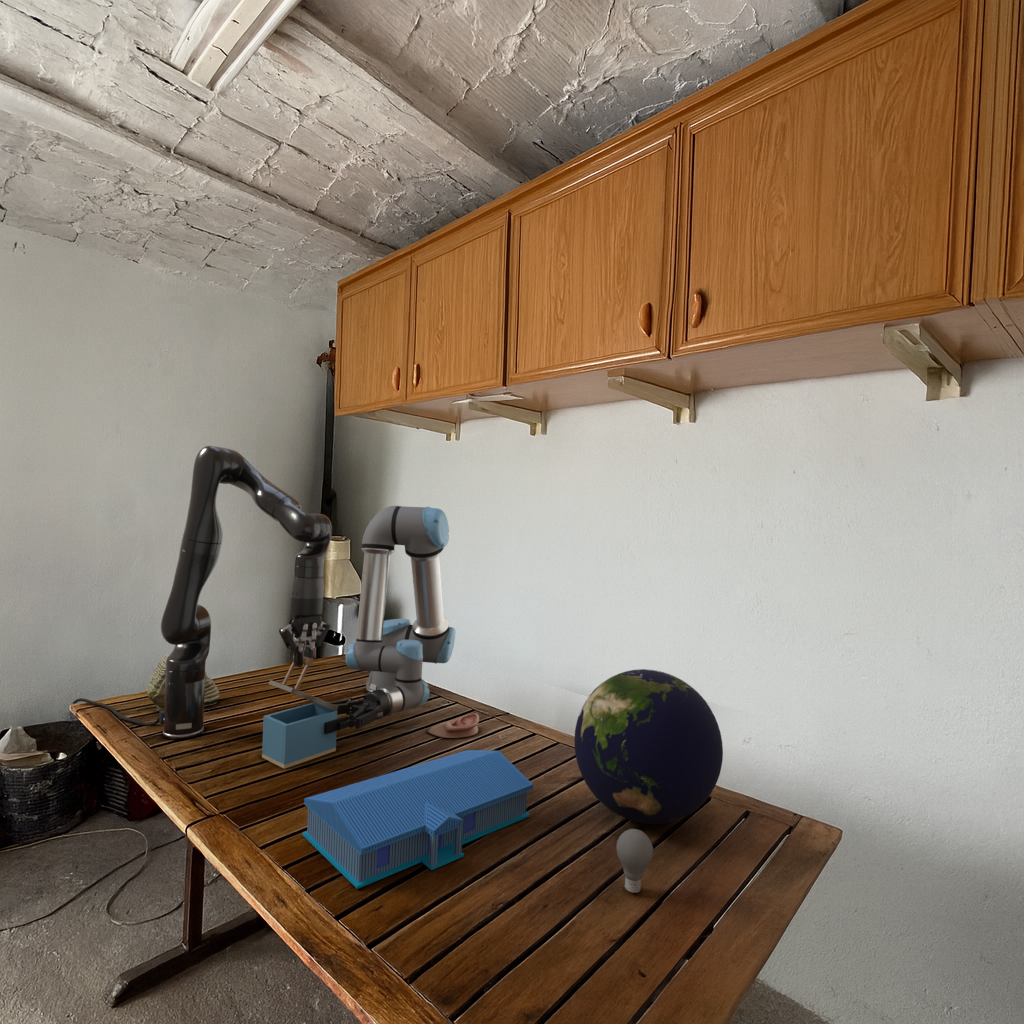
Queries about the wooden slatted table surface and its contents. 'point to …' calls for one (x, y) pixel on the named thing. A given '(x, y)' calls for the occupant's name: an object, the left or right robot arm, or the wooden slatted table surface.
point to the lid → (295, 690)
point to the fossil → (158, 687)
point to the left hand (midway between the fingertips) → (302, 665)
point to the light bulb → (634, 857)
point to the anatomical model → (457, 727)
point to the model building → (416, 814)
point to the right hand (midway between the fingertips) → (312, 723)
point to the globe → (648, 746)
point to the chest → (297, 735)
